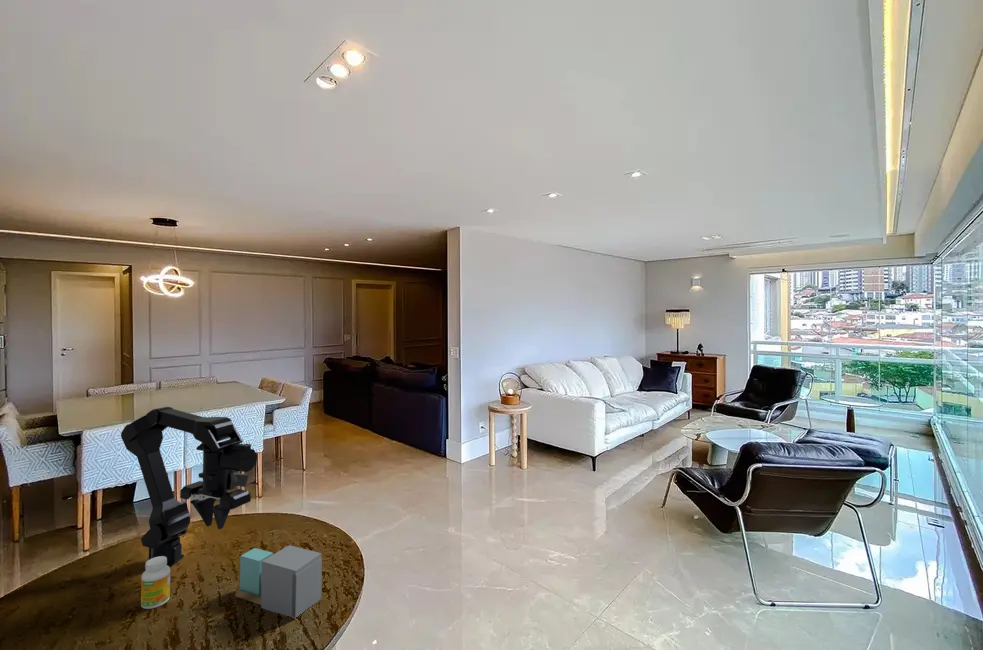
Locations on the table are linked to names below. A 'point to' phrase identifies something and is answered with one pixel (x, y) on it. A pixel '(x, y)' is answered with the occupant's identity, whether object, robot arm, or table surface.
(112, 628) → the table surface
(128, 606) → the table surface
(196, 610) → the table surface
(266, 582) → the socket
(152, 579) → the supplement bottle
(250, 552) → the slider
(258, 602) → the track
